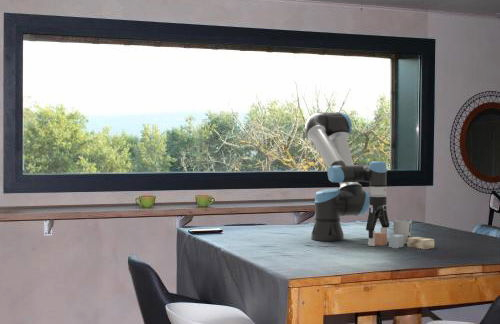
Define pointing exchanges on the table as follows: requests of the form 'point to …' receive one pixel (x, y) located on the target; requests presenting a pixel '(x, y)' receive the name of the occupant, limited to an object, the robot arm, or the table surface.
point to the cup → (402, 228)
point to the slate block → (396, 241)
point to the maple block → (420, 242)
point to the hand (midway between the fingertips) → (377, 243)
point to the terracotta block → (380, 238)
